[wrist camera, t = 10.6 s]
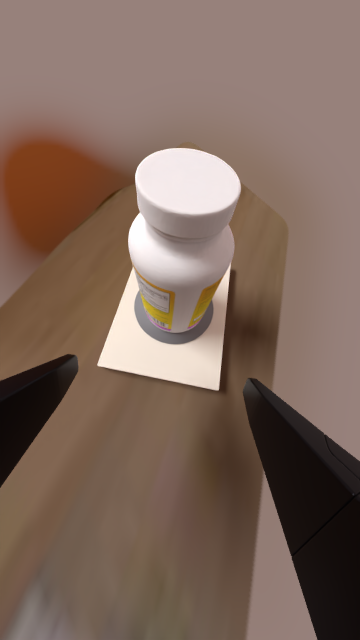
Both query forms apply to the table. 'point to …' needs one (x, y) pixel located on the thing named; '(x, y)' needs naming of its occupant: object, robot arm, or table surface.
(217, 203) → the supplement bottle
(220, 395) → the table surface
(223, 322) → the base
